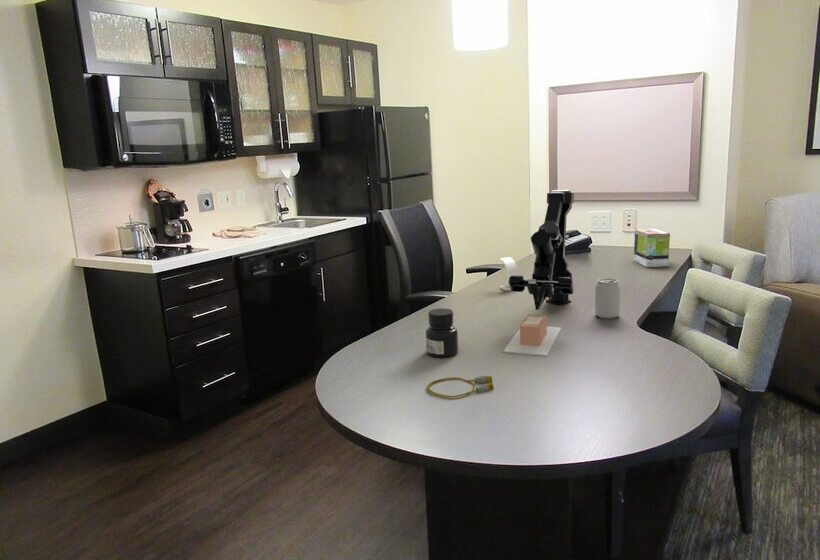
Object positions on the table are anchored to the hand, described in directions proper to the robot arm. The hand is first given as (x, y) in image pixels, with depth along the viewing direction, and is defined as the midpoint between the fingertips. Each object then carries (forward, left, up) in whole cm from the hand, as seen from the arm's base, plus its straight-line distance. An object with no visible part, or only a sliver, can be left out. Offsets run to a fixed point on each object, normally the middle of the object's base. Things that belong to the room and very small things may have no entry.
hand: (537, 309), depth 170 cm
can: (0, +29, -8) cm, 30 cm away
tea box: (-41, +103, -8) cm, 111 cm away
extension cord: (+18, -40, -9) cm, 45 cm away
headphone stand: (-48, +28, -8) cm, 56 cm away
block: (0, 0, -5) cm, 5 cm away
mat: (+3, -4, -8) cm, 9 cm away
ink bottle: (-5, -31, -8) cm, 32 cm away
